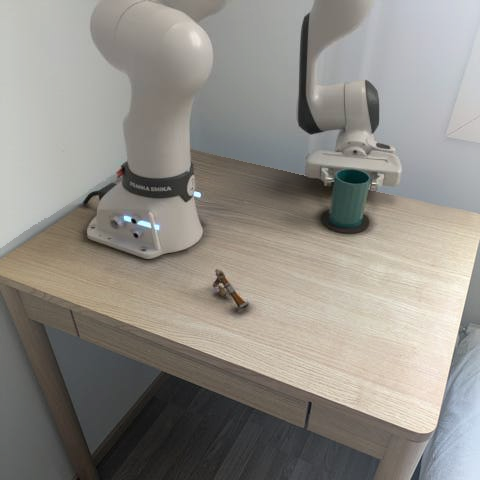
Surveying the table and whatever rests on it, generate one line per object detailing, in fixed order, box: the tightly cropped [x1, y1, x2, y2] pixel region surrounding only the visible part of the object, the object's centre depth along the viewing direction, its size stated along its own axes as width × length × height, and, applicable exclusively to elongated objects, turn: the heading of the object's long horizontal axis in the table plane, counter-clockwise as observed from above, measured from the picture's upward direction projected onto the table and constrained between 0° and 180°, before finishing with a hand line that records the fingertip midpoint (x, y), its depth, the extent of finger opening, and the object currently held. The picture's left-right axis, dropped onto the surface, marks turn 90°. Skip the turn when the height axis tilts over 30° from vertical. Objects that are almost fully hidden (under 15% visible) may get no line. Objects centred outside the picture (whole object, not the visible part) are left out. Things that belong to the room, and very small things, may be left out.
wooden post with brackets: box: [212, 268, 250, 313], centre depth 81 cm, size 2×8×4 cm, turn 40°
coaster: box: [320, 208, 371, 235], centre depth 102 cm, size 10×10×1 cm
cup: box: [329, 169, 371, 228], centre depth 98 cm, size 7×7×10 cm
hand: (351, 185), depth 101 cm, fingers open, 8 cm apart
